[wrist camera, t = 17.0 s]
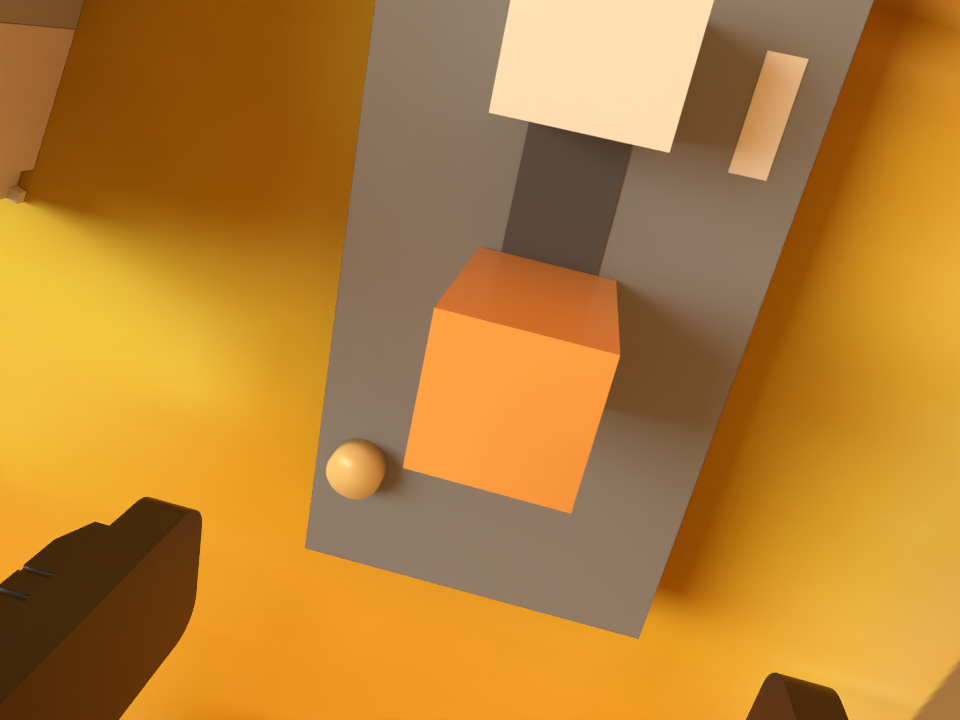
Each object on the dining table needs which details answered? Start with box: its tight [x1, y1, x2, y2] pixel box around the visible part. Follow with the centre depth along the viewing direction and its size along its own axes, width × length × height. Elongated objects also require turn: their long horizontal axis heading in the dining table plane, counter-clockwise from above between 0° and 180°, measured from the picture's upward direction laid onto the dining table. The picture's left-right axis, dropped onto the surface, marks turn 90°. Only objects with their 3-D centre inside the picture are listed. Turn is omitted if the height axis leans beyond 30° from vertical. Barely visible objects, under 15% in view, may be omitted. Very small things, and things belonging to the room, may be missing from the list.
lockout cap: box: [403, 247, 620, 514], centre depth 19 cm, size 4×4×6 cm
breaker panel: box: [305, 0, 874, 639], centre depth 21 cm, size 26×12×4 cm, turn 168°
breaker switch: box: [489, 0, 714, 153], centre depth 17 cm, size 3×4×4 cm
